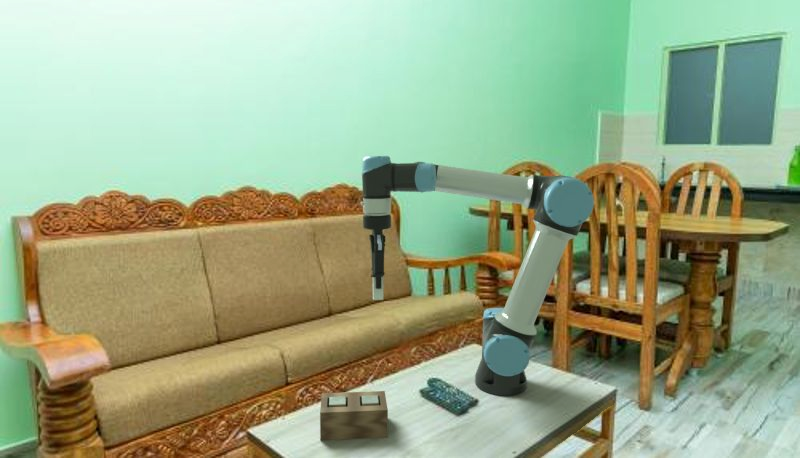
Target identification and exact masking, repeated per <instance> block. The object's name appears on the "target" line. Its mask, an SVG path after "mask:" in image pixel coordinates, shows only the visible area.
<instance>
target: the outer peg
mask: <svg viewBox="0 0 800 458" xmlns="http://www.w3.org/2000/svg"><path fill="white" fill-rule="evenodd" d="M329 407H346V396H343V397H330V398H329Z"/></svg>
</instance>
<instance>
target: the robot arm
mask: <svg viewBox="0 0 800 458" xmlns="http://www.w3.org/2000/svg"><path fill="white" fill-rule="evenodd" d="M361 168H362V169H361V170H362V171H361V181H362V182H361V183H362V200H363V201H360V206H362V212H363V213H364V214H363V216H362V226H363V229H364V230H371V234H368V235H369V242H370V250H371V271H372V272H371V273H372V274H370V277H371V278H372V300H373V301H381V300H382V301H383V300H384V276H385V272H384V271H385V250H386V248H385V246H386V235H385V234H383V230H388V229H390V228H391V227H392V215H391V214H390V213H391V212H392V195H391V193H394V192H396V193H397V192H401V193H403V192H404V193H406V192H407V193H408V192H409V193H412V192H414V193H429V192H440V193H445V194H453V195H460V196H467V197H471V198H472V197H473V198H480V199H485V200H492V201H498V202H506V203H512V204H520V205H523V206H524V208H525V209H526V210H527V209H529V210H534V211H535V213H534V217H533V218H532V222H533V223H534V226H535V230H534V233H533V235H532V237H531V240H530V242H529V245H528V247H527V250H526V253H525V255H524V257H523V261H522V263H521V265H520V267H519V270H518V273H517V275H516V277H515V280H514V282H513V285H512V288H511V290H510V292H509V295H508V296H507V299H506V303H505V304H504V305H505V306H504V307H490V308H486V309H485V310H484V312H483V317H482V320H483V321H482V341H481V342H482V343H481V344H482V345H481V358H480V361H479V364H478V366H477V369H476V372H475V376H474V384H475V386H476V387H477V388H478V389H480V390H481V391H483V392H486V393H488V394H490V395H491V394H492V395H497V396H515V395H519V394H522V393H524V392H525V391H526V389H527V384H528V383H527V382H528V380H527V379H528V378H527V376H526V371H525V370H526V368H528V367H529V363H530V360H531V351H530V350H531V347H532V345H533V343H534V340H535V338H536V336H537V333H538V332H537V329H536V327H535V322H536V320H537V317H538V315H539V313H540V310H541V307H542V305H543V303H544V300H545V298H546V295H547V293H548V291H549V288H550V286H551V283H552V281H553V278H554V276H555V274H556V271H557V269H558V267H559V264H560V262H561V258H562V256H563V254H564V253H565V249H566V247H567V245H568V242H569V241H570V240H572V239H575V238H577V237H578V234H579V232H580V230H581V228H582V225H583V223H585V222H586V221H587V220H588V218H589V217H590V216H591V214H592V212H593V209H594V206H595V205H594V204H595V200H594V199H595V198H594V195H593V192H592V190H591V189H590V188H589V186H588V185H587V184H586V183H585V182H584V181H582V180H581V179H579V178H577V177H572V176H567V175H538V174H531V175H529V176H528V177H525V176H519V175H518V176H517V175H511V174H503V173H497V172H491V171H483V170H476V169H470V168H462V167H455V166H448V165H443V164H442V165H441V164H434V163H429V162H424V161H415V162H409V163H408V162H406V163H403V162H402V163H395V162H392V161H391V157H390V156H389V155H366V156H364V157H363V158H362V167H361Z"/></svg>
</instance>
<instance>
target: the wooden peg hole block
mask: <svg viewBox="0 0 800 458" xmlns="http://www.w3.org/2000/svg"><path fill="white" fill-rule="evenodd" d="M370 395H378V402H379V405H374V406H362V396H370ZM343 396H346V407H329V398H330V397H343ZM320 398H321V399H320V400H321V401H320V409H319V417H320V418H319V423H320V424H319V425H320V427H319V428H320V429H319V431H320V434H319V435H320V437H319V439H320V441H334V440H357V439H359V440H360V439H378V438H388V436H389V435H388V432H389V431H388V429H389V427H388V426H389V425H388V424H389V423H388V416H389V409H388V403H387V397H386V391H385V390H378V391H377V390H376V391H375V390H374V391H350V392H347V391H346V392H323V393H321V397H320Z"/></svg>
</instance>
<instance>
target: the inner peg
mask: <svg viewBox="0 0 800 458" xmlns="http://www.w3.org/2000/svg"><path fill="white" fill-rule="evenodd" d="M374 405H379V402H378V395H370V396H362V406H374Z"/></svg>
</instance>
